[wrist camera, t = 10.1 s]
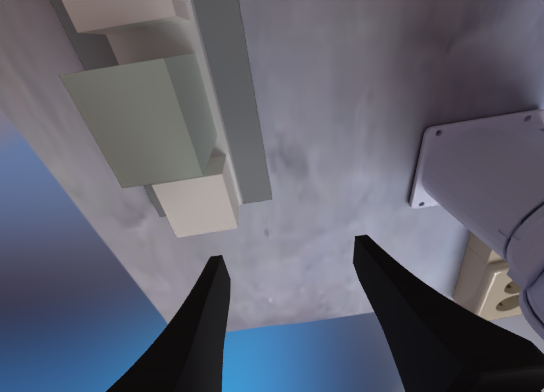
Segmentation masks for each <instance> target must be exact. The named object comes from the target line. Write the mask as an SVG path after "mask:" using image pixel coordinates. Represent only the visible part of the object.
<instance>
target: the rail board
mask: <svg viewBox="0 0 544 392" xmlns="http://www.w3.org/2000/svg"><path fill="white" fill-rule="evenodd" d="M50 2H51V4H52V6H53V8H54V9H55V11H56V13H57V15H58V17H59V19H60V21H61V23H62V25H63V27H64V29H65V31H66V33H67V35H68V37H69V39H70V41H71V43H72V45H73V47H74V49H75V51H76V53H77V55H78V57H79V59H80V61H81V63H82V65H83V67H84V69H85V71H89V70H95V69H101V68H107V67H113V66H119V65H125V64H131V63H137V62H143V61H149V60H155V59H162V58H168V57H174V56H180V55H186V54H192V53H196V56H197V60H198V64H199V68H200V71H201V75H202V79H203V83H204V86H205V90H206V94H207V97H208V101H209V105H210V109H211V112H212V116H213V120H214V124H215V127H216V131H217V135H218V136H217V139H216V142H215V144H214V147H213V150H212V153H211V155H210V158H209V161H208V163H207V166H206V169H205V171H204V174H203V176H199V177H192V178H186V179H179V180H173V181H167V182H160V183H154V184H147V185H144V187H145V189H146V191H147V193H148V195H149V197H150V199H151V201H152V202H153V204H154V206H155V208H156V210H157V212H158V214H159V216H160V217H164V216H167V218H168V220H169V222H170V224H171V226H172V228H173V230H174V232H175V234H176V236H177V238H179V237H185V236H192V235H198V234H204V233H211V232H217V231H223V230H230V229H236V228H238V218H239V205H242V204H246V203H252V202H258V201H265V200H271V199H272V194H271V188H270V182H269V176H268V170H267V164H266V158H265V152H264V147H263V141H262V135H261V129H260V123H259V117H258V111H257V106H256V100H255V94H254V88H253V82H252V76H251V70H250V64H249V59H248V53H247V47H246V41H245V35H244V29H243V23H242V17H241V12H240V6H239V0H50Z"/></svg>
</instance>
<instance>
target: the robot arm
mask: <svg viewBox="0 0 544 392" xmlns="http://www.w3.org/2000/svg"><path fill="white" fill-rule="evenodd" d="M525 117H526V118H525ZM543 121H544V110H542V109H537V110H530V111H524V112H518V113H512V114H506V115H500V116H493V117H487V118H481V119H475V120H469V121H462V122H456V123H450V124H444V125H438V126H432V127H429V128H428V129H426V131H425V133H424V136H423V141H422V146H421V150H420V155H419V160H418V165H417V169H416V174H415V179H414V184H413V188H412V193H411V198H410V202H409V206H410V207H411V208H413V209H417V208H424V207H430V206H436V205H441V206H442V207H443V208H444V209H445V210H447V211H448V212H449V213H450V214H451V215H452V216H454V217H455V218H456V219H457V220H458V221H459V222H461V223H462V224H463V225H464V226H465V227H466V228H468V229H469V230H470V231H471V232H472V233H473V234H475V235H476V236H477V237H478V238H479V239H480V240H482V241H483V242H484V243H485V244H486V245H487V246H489V247H490V248H491V249H492V250H493V251H494V252H496V253H497V254H498V255H499V256H500V257H501V258H503V259H504V260H505V261H506V262H507V263H509V265H510V268H509V270H508V272H507V276H508V277H509V278H511V279H512V280H513V281H514V282H515V283H516V284H517V285H518V286H519V287H520V288H522V289H521V291H520V293H519V298H518V300H519V306H520V309H521V311H522V313H523V315H524V317H525V319H526V320H527V321H528V323H529V324H530V325H531V326H532V328H533V329H534V330H535V331H536V333H537V334H539V336H540V337H541V338H542V339H543V340H544V123H543ZM438 130H439V133H437V134H436V132H437V131H438ZM419 203H420V204H419ZM353 264H354V267H355V270H356V273H357V276H358V278H359V281H360V283H361V285H362V287H363V289H364V291H365V293H366V295H367V297H368V299H369V302H370V304H371V306H372V308H373V310H374V312H375V314H376V316H377V317H378V320H379V322H380V324H381V326H382V329H383V331H384V334H385V336H386V339H387V342H388V344H389V347H390V349H391V352H392V355H393V358H394V360H395V363H396V366H397V368H398V372H399V374H400V377H401V380H402V383H403V386H404V389H405V392H541V390H542V389H543V388H544V354H543V353H542V352H541V351H540V350H539V349H538V348H537V347H536V346H535V345H534V344H533V343H532V342H531V341H529V340H527V339H525V338H523V337H521V336H519V335H516V334H514V333H512V332H510V331H508V330H506V329H504V328H501V327H499V326H497V325H495V324H493V323H491V322H489V321H487V320H486V319H484V318H482V317H480V316H478V315H476V314H474V313H472V312H471V311H469V310H467V309H465V308H464V307H462V306H460V305H458V304H457V303H455V302H453V301H452V300H450V299H448V298H447V297H445V296H443V295H442V294H440V293H439V292H437V291H436V290H434V289H433V288H431V287H430V286H428V285H427V284H425V283H424V282H423V281H421V280H420V279H418V278H417V277H416V276H414V275H413V274H412V273H410V272H409V271H408V270H407V269H405V268H404V267H403V266H402V265H400V264H399V263H398V262H397V261H396V260H395V259H393V258H392V257H391V256H390V255H389V254H388V253H386V252H385V251H384V250H383V249H382V248H381V247H380V246H379V245H378V244H376V243H375V242H374V241H373V240H372V239H371V238H370V237H369V236H368V235H361V236H355V244H354V256H353ZM229 303H230V277H229V274H228V271H227V268H226V265H225V262H224V260H223V257H222V255H219V256H212V257H210V258H209V260H208V262H207V264H206V266H205V268H204V270H203V271H202V273H201V275H200V277H199V279H198V280H197V282H196V284H195V285H194V287H193V289H192V290H191V292H190V294H189V295H188V297H187V298H186V300H185V301H184V303H183V304H182V306H181V307H180V309H179V310H178V312H177V313H176V315H175V316H174V317H173V319H172V320H171V321H170V323H169V324H168V325H167V327H166V328H165V329H164V331H163V332H162V333H161V334H160V335H159V337H158V338H157V339H156V340H155V341H154V343H153V344H152V345H151V346H150V347H149V348H148V350H147V351H146V352H145V353H144V354H143V355H142V356H141V357H140V358H139V359H138V360H137V361H136V362H135V364H134V365H133V366H132V367H131V368H130V369H129V370H128V371H127V372H126V373H125V374H124V375H123V376H122V377H121V378H120V379H119V380H118V381H117V382H116V383H114V385H112V386H111V387H110V388H109V389H108V390H107V391H106V392H222V367H223V366H222V365H223V349H224V339H225V332H226V325H227V318H228V311H229Z"/></svg>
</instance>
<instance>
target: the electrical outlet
mask: <svg viewBox="0 0 544 392" xmlns="http://www.w3.org/2000/svg"><path fill="white" fill-rule="evenodd" d="M509 268H510V265H509V263H507V262H506V261H505V260H504V259H503V258H501V257H500V256H499V255H498V254H497V253H496V252H494V251H493V250H492V249H491V248H490V247H489V246H487V245H486V244H485V243H484V242H483V241H482V240H480V239H479V238H478V237H477V236H476V235H475V234H473V233H472V232H471V234H470V237H469V241H468V244H467V248H466V251H465V255H464V259H463V262H462V266H461V269H460V273H459V276H458V280H457V284H456V287H455V291H454V294H453V299H454V301H455V302H456V303H457V304H458V305H460V306H462V307H464V308H465V309H467V310H469V311H471V312H472V313H474V314H476V315H478V316H480V317H482V318H484V319H486V320H487V321H491V320H496V319H502V318H507V317H512V316H517V315H522V314H523V313H522V311H521V309H520V306H519V300H518V298H519V293H520V291H521V289H522V288H520V287H519V286H518V285H517V284H516V283H515V282H514V281H513V280H512V279H511V278H509V277H508V276H507V272H508V270H509Z"/></svg>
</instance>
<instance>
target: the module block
mask: <svg viewBox="0 0 544 392" xmlns="http://www.w3.org/2000/svg"><path fill="white" fill-rule="evenodd" d="M59 77H60V79H61V80H62V82H63V84H64V86H65V88H66V89H67V91H68V93H69V95H70V96H71V98H72V100H73V102H74V104H75V105H76V107H77V109H78V111H79V112H80V114H81V116H82V118H83V119H84V121H85V123H86V125H87V127H88V128H89V130H90V132H91V134H92V135H93V137H94V139H95V141H96V143H97V144H98V146H99V148H100V150H101V151H102V153H103V155H104V157H105V159H106V160H107V162H108V164H109V166H110V167H111V169H112V171H113V173H114V175H115V176H116V178H117V180H118V182H119V183H120V185H121V187H122V188H128V187H135V186H141V185H147V184H154V183H160V182H167V181H173V180H179V179H186V178H192V177H199V176H203V174H204V171H205V169H206V166H207V163H208V161H209V158H210V155H211V153H212V150H213V147H214V144H215V142H216V139H217V136H218V135H217V131H216V127H215V124H214V120H213V116H212V112H211V109H210V105H209V101H208V97H207V94H206V90H205V86H204V83H203V79H202V75H201V71H200V68H199V64H198V60H197V56H196V53H192V54H186V55H180V56H174V57H168V58H162V59H155V60H149V61H143V62H137V63H131V64H125V65H119V66H113V67H107V68H101V69H95V70H89V71H83V72H76V73H70V74H64V75H59Z"/></svg>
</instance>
